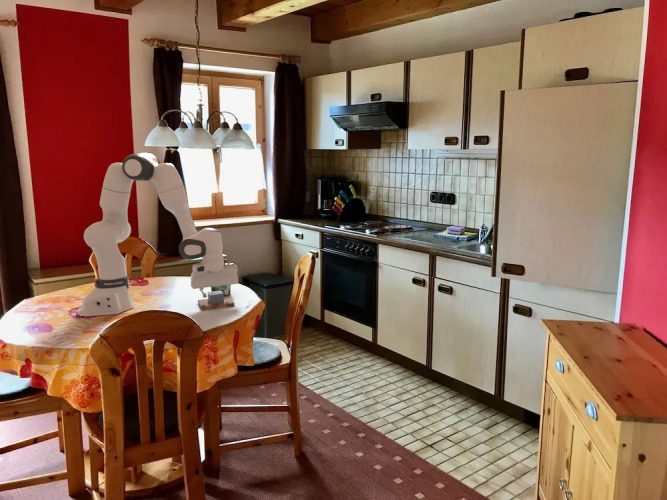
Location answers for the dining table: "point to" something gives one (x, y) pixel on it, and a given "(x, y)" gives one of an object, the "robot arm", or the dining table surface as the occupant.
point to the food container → (221, 289)
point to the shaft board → (206, 305)
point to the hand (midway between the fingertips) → (215, 296)
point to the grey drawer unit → (215, 297)
